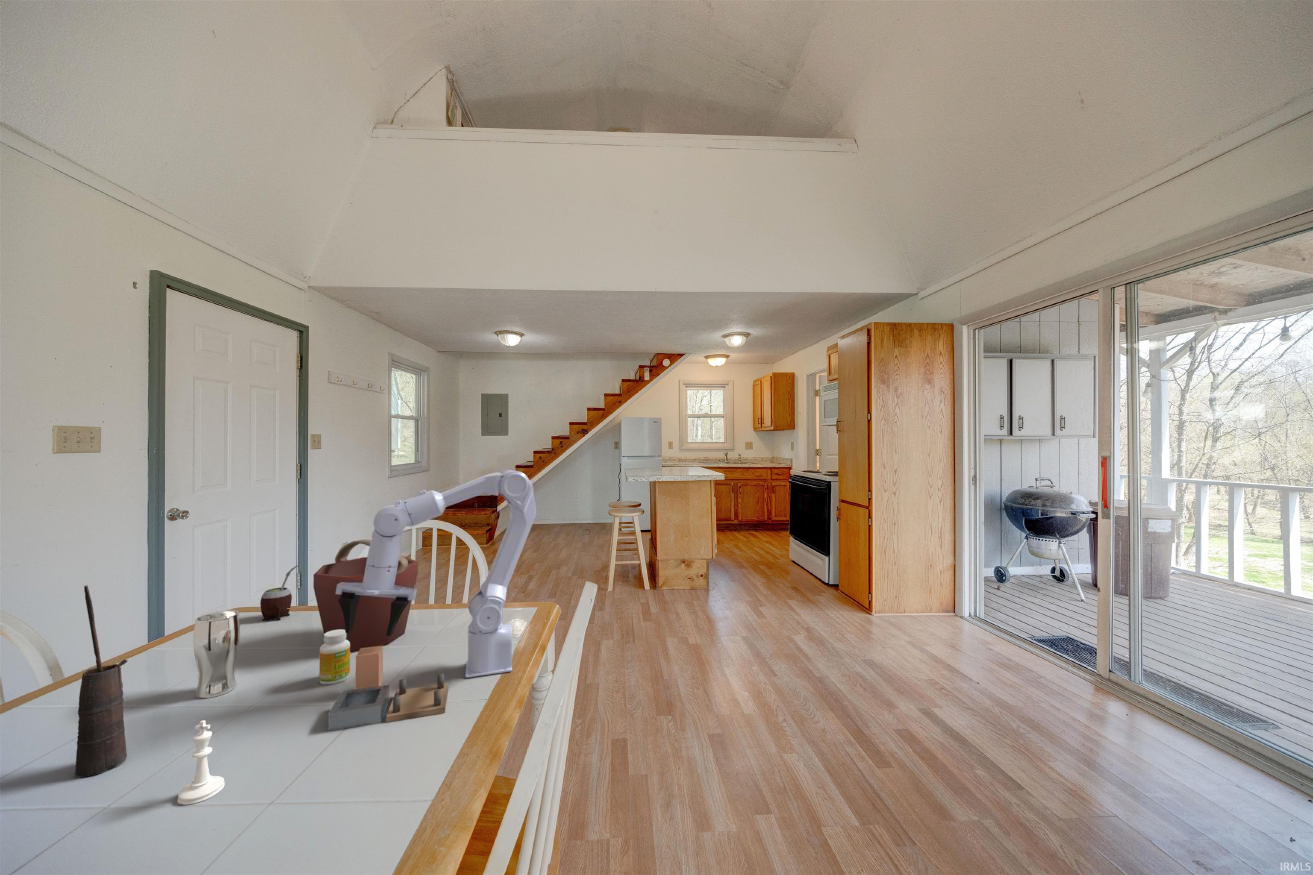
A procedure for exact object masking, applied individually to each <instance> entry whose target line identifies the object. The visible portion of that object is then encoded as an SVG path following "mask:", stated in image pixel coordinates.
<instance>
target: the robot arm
mask: <svg viewBox="0 0 1313 875" xmlns="http://www.w3.org/2000/svg"><path fill="white" fill-rule="evenodd" d="M480 495H490V496H499V495H500V496H501V497H502V498H504V500H505V501H506V503H507V505H508V507H509V510H511V512H512V515H511V517H510V519H509V522H508V525H507V527H506V529H505V532H504V534H503V537H502V539H501V542H500V543H499V544H500V545H499V546H498V549H497V552H496V554H495V557H494V558H493V562H492V564H491V566H490V569H489V571H488V574H487V576H486V578H485V580H484V581H483V583H482V584H481V586H480V588H479V590H478V591H477V593H476V594H475V595H474V596H472V598H471V599H470V601H469V603H468V612H469V614H470V616H471V622H470V624H469V625H468V627H467V629H468V630H467V660H466V664H465V665H466V666H465V678H468V679H469V678H473V677H480V676H488V675H494V674H496V675H497V674H501V673H508V672H512V670H513V658H514V649H513V633H512V632H513V630H512V629H513V628H512V624H504V623H503V621H504V605H505V603H506V599H507V591H508V590H507V589H508V586H509V583H510V582H511V579H512V576H513V574H514V572H515V569H516V567H517V564H518V562H519V559H520V556H521V554H522V552H523V549H524V547H525V544H526V542H527V538H528V536H529V534H530V531H531V530H532V529H531V528H532V526H533V524H534V521H535V518H536V517H537V506H536V500H535V495H534V486H533V483H532V482H531V481H530V479H529V477H528V476H527V475H526V474H525V473H523V472H522V471H519V470H515V469H509V468H508V469H504V470H501V471H500V472H497V471H496V472H492V473H488V474H485V475H482V476H479V477H477V478H475V479H472V480H470V481H469V480H468V482H464V483H462V484H459V485H457V486H455V487H453V488H450V489H448V490H446V491H445V490H444V491H443V492H438V491H436V490H433V489H430V490H428V491H427V490H426V489H423V490H420V491H419V494H417V495H415V496H412V497H409V498H407V499H404V500H401V499H397V500H395V505H393V504H391V505H389V504H388V505H385V506H383V507H381V508H380V509H379V510H378V511H377V513H376V514H375V516H374V519H373V527H374V529H373V532H372V534H371V540H372V541H371V542H370V546H368V553H367V556H366V557H367V562H366V568H365V573H364V579H363V583H346V582H341V583H339V584H337V588H336V593H335V594H342V595H341V597H340V598H339V599H338V602H339V604H340V607H341V609H342V612H343V616H344V621H345V633H349V632H351V631H352V630H353V627H354V623H355V616H356V611H357V607H358V603H359V600H360V597H361V595H364V596H376V597H388V598H396V599H395V600H394V601H392V602H391V612H390V621H389V625H388V629H387V636H391V635H392V634H393V633H394V629H395V627H396V624H397V622H398V620H399V618H400V616H401V614H402V612H403V611H404V609H405V607H406V606H407V604H408V603H409V602H410V600H411V601H412V602H413V601H415V599H416V598H417V593H418V589H417V588H414V589H413V588H407V587H402V586H397V585H394V583H395V578H396V572H397V567H398V561H399V556H400V555H401V550H402V541H401V540H402V536H403V532H404V530H405V529H406V527H411V528H412V527H414V526H417V525H419V524H422V523H424V522H427V521H429V520H433V519H435V518H438V517H440V516H442V515H443V514H444V512H445V510H446V508H447V507H449V506H452V505H455V504H458V503H461V502H463V501H466V500H469V499H472V498H475V497H478V496H480Z"/></svg>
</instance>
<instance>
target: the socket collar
mask: <svg viewBox="0 0 1313 875" xmlns="http://www.w3.org/2000/svg"><path fill="white" fill-rule="evenodd" d="M390 685H391V684H384V685H382V686H376V687H369V688H362V689H349V690H342V691H341V692H340V693H339V695H338V697H337V698H336V701H335V702H334V704H333V706H332V707H331V709H330V710H329V712H328V732H329V731H335V730H341V729H342V730H344V729H348V728H355V727H360V726H367V725H368V726H369V725H373V724H379V723H382V721H383V718H384V715H385V713H386V711H387V708H388V706H389V703H390Z"/></svg>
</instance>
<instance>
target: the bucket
mask: <svg viewBox="0 0 1313 875" xmlns="http://www.w3.org/2000/svg"><path fill="white" fill-rule="evenodd" d="M371 541H372V539H359V540H353V541H350V542H349V543H346V544H344V546H342V547H341V548H339V550H338V552H337V554H336V556H335V557H334V562H333V563H332V562H331V563H327V564H323V565H322V566H321V567H320V568H318V570H317V571H316V572H315V573H313V592H314V597H315V600H316V603H317V608H318V613H319V617H320V623H321V627H322V630H323V635H324V634H325V633H327V632H329V631H333V630H340V629H342V630H345V621H344V616H343V612H342V609H341V607H340V604H339V602H338V599H339V598H340V597H341V595H342V594H335V593H336V588H337V584H339V583H341V582H346V583H363V579H364V573H365V568H366V562H367V557H368V556H362V557H358V558H353V559H348V556H349V555H350V553H351V551H352V550H353V549H354V548H355V547H357V546H358V545H365V546H367V547H370V542H371ZM418 574H419V562H418V560H414V559H412V558H410V557H407V556H404V555H401V554H400V556H399V561H398V567H397V572H396V578H395V583H394V585H397V586H402V587H407V588H413V589H416V588H415V587H416V583H417V582H416V581H417V579H418ZM395 599H396V598H388V597H376V596H364V595H361V597H360V600H359V603H358V607H357V611H356V616H355V623H354V627H353V630H352V631H351V632H349V633H346V640H348V641H349V642H350V654H353V653H358V652H359V650H360V649H361V648H367V647H375V646H383V647H385V646H388V645H390V644H391V643H393V642H395V641H396V640H398V639H399V638H400V637H402V636H403V635H405V633H406V628H407V623H408V619H409V616H410V610H411V606H412V602H413V601H411V600H410V602H409V603H408V604H407V606H406V607H405V609H404V611H403V612H402V614H401V616H400V618H399V620H398V622H397V624H396V627H395V629H394V633H393V634H392V635H391V636H387V629H388V625H389V621H390V612H391V602H392V601H394V600H395Z"/></svg>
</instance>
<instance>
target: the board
mask: <svg viewBox="0 0 1313 875" xmlns="http://www.w3.org/2000/svg"><path fill="white" fill-rule="evenodd" d="M398 684H399V685H398V690H396V691H395V692H394V696H393V697H392V700H391V703H390V706H389V709H388V712H387V714H386V720H385V722H386V723H390V722H396V721H404V720H407V719H408V720H409V719H414V718H415V719H416V718H421V717H428V716H434V715H440V714H444V713H446V710H447V709H446V708H447V701H448V696H449V688H450V684H449V683H445V674H444V673H439V674H437V684H436V685H430V686H429V685H427V686H423V687H422V686H421V687H415V688H408V689H407V679H406V678H402V679H399V682H398Z"/></svg>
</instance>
